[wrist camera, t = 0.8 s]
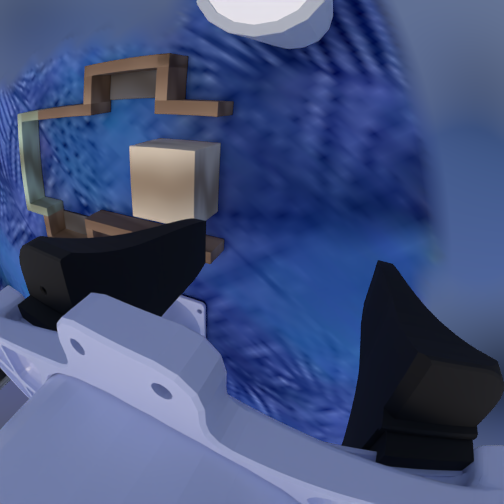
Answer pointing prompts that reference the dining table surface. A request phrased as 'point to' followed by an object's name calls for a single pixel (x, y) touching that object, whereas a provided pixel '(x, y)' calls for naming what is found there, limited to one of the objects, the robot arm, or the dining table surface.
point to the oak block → (174, 179)
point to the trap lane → (99, 101)
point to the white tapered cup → (272, 19)
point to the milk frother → (3, 379)
